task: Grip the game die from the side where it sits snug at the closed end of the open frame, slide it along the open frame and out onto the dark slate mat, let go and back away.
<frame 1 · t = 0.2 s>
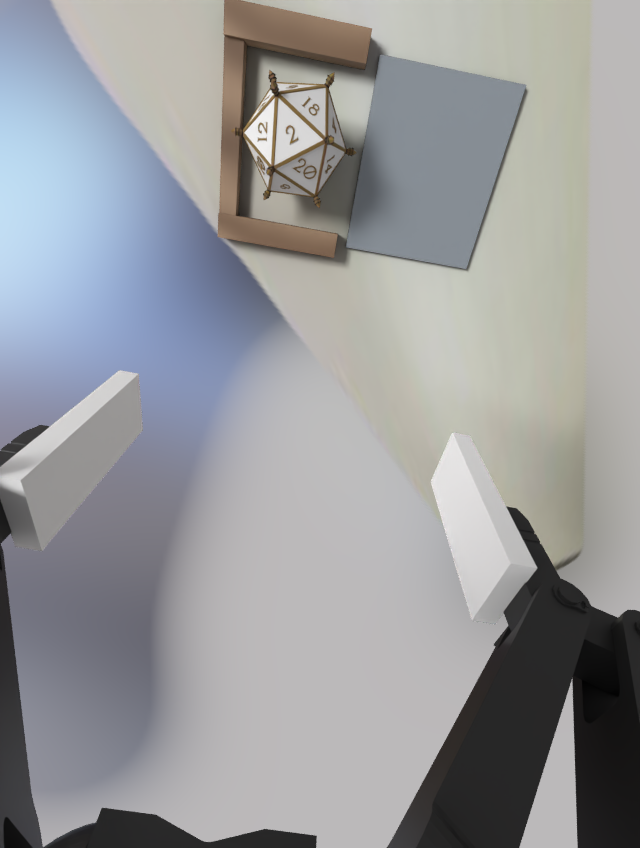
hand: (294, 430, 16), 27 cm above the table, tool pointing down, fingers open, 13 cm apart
game die: (299, 149, 34), on the table
open frame: (288, 146, 34), on the table
mat: (427, 173, 34), on the table
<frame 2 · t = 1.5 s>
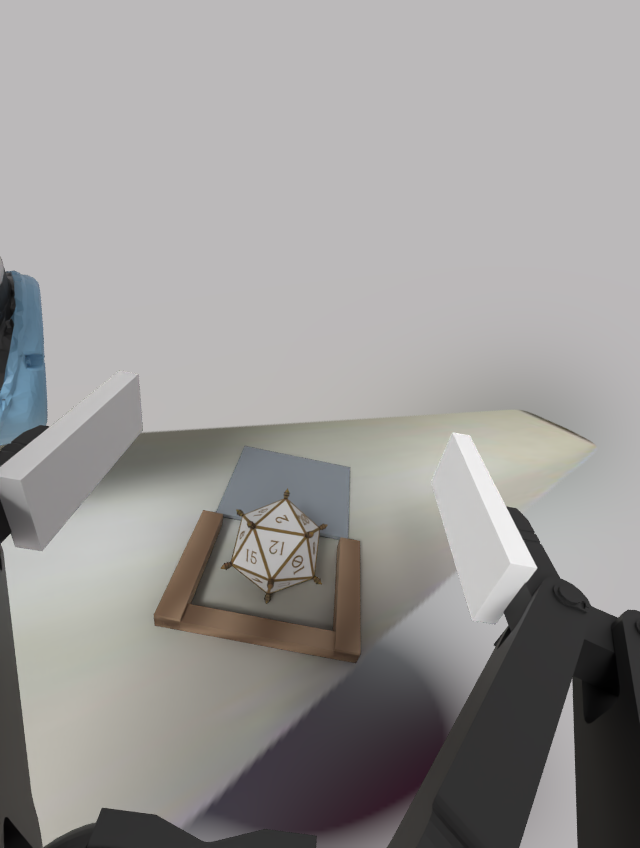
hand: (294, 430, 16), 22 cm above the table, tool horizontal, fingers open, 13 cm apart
game die: (271, 574, 36), on the table
open frame: (269, 582, 35), on the table
mat: (290, 489, 45), on the table
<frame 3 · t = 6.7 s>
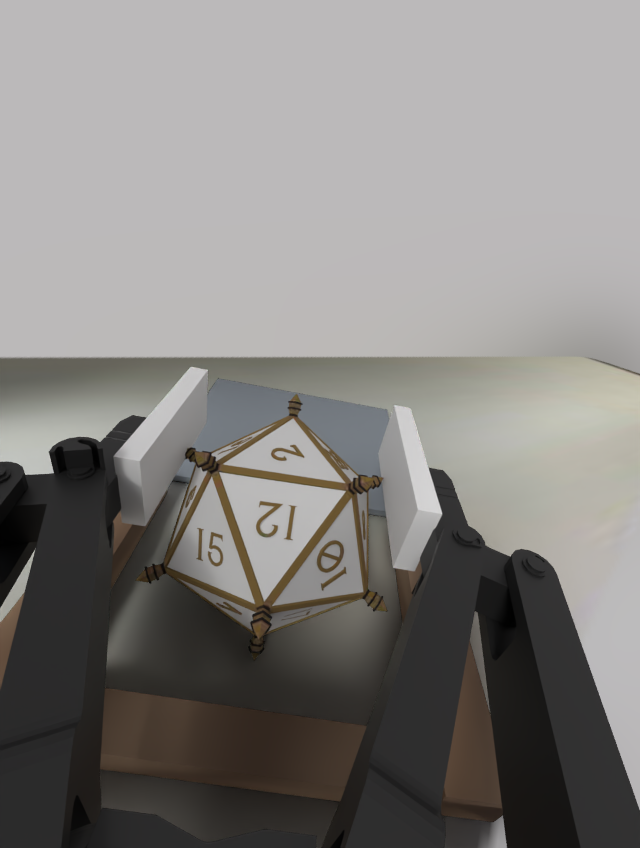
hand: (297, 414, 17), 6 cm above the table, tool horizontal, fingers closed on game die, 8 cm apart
game die: (265, 589, 17), on the table, touching gripper
open frame: (261, 608, 16), on the table
mat: (294, 439, 26), on the table
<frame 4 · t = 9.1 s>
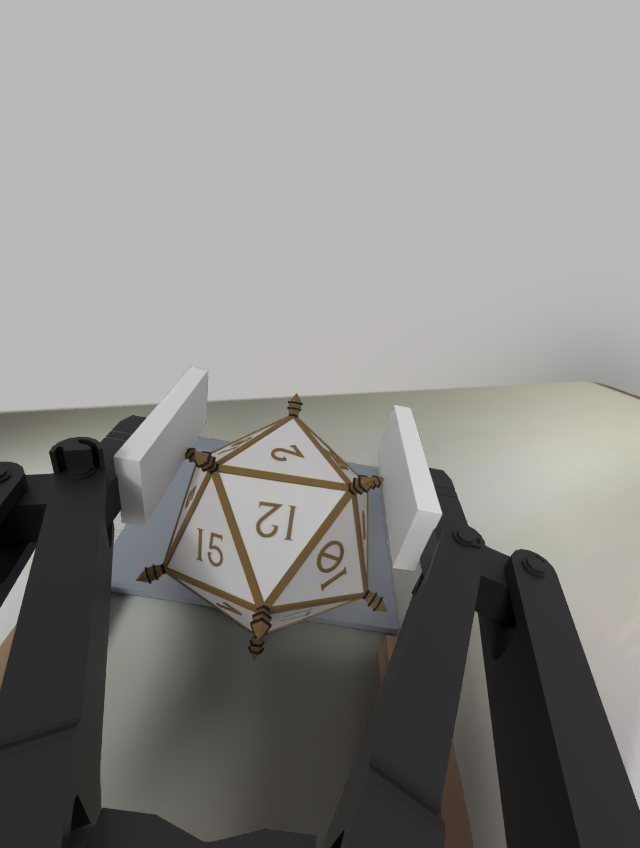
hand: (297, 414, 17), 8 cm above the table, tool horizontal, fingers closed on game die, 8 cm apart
game die: (265, 590, 17), point 2 cm above the table, touching gripper
open frame: (203, 808, 12), on the table
mat: (268, 516, 23), on the table
when the fingers open (8 cm above the table, at t = 11.6 s): game die drops 1 cm, resting on mat.
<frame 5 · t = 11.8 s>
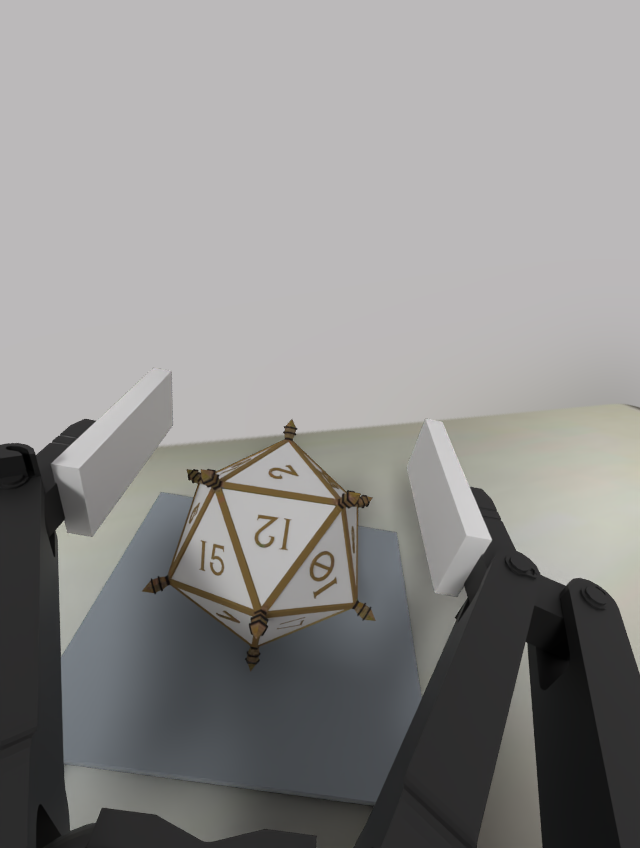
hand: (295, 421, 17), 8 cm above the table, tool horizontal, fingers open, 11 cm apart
game die: (261, 605, 18), resting on mat
mat: (260, 612, 18), on the table
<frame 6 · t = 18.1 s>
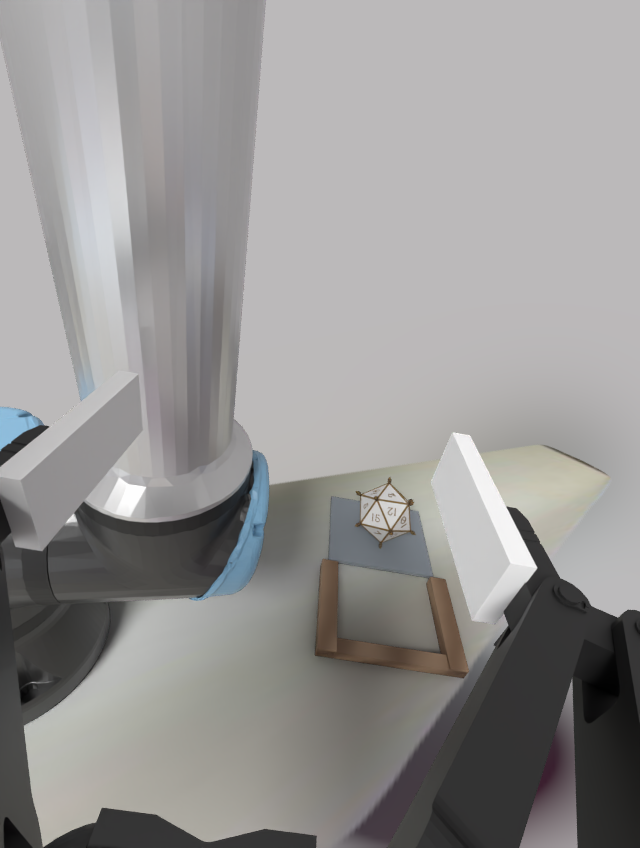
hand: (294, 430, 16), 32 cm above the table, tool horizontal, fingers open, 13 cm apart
game die: (377, 533, 56), resting on mat
open frame: (385, 617, 45), on the table
mat: (377, 534, 56), on the table
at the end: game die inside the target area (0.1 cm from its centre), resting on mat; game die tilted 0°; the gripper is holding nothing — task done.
